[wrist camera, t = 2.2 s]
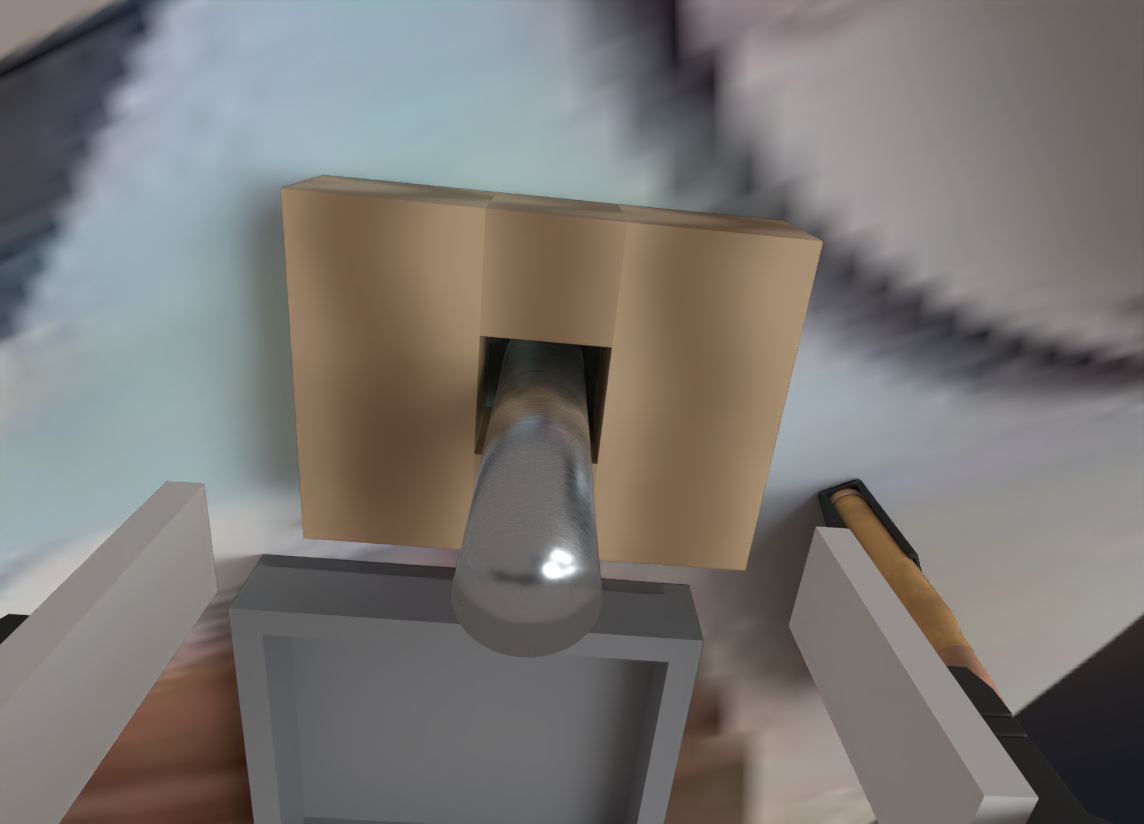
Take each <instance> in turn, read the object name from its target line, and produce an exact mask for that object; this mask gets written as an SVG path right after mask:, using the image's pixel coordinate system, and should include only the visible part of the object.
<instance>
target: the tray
mask: <svg viewBox="0 0 1144 824" xmlns="http://www.w3.org/2000/svg"><path fill="white" fill-rule="evenodd" d="M455 571H456V568H444V567H430V566H416V565H402V564H389V563H375V562H361V561H347V560H333V559H319V558H306V557H292V556H278V555H263V556H262V558H261V559H260V561H259V562H258V564H257V565H256V567H255V568H254V570H253V571H252V573H251V574H250V576H249V577H248V579H247V580H246V582H245V583H244V585H243V586H242V588H241V589H240V591H239V592H238V594H237V596H236V597H235V599H234V600H233V602H232V603H231V605H230V606H229V608H228V611H229V620H230V628H231V636H232V644H233V653H234V661H235V669H236V677H237V686H238V694H239V702H240V711H241V719H242V727H243V735H244V744H245V752H246V760H247V768H248V777H249V785H250V793H251V802H252V810H253V818H254V824H664V820H665V815H666V811H667V806H668V802H669V797H670V792H671V788H672V783H673V779H674V774H675V769H676V765H677V760H678V756H679V751H680V747H681V742H682V737H683V733H684V728H685V724H686V719H687V714H688V710H689V705H690V701H691V696H692V692H693V687H694V682H695V678H696V673H697V669H698V664H699V660H700V655H701V650H702V646H703V641H704V640H703V637H702V633H701V629H700V625H699V621H698V617H697V614H696V610H695V606H694V602H693V598H692V595H691V591H690V587H689V585H679V584H665V583H651V582H637V581H623V580H609V579H601V587H602V606H601V610H600V614H599V616H598V619H597V621H596V622H595V624H594V626H593V627H592V629H591V630H590V631H589V632H588V633H587V634H586V635H585V636H584V637H583V638H582V639H581V640H580V641H578V642H577V643H576V644H574V645H573V646H571V647H569V648H567V649H565V650H563V651H560V652H558V653H555V654H551V655H547V656H542V657H514V656H509V655H504V654H501V653H498V652H495V651H493V650H491V649H488V648H486V647H485V646H483V645H481V644H480V643H478V642H477V641H475V640H474V639H473V638H472V637H471V636H470V635H469V634H468V633H467V632H466V631H465V630H464V629H463V628H462V626H461V625H460V623H459V622H458V620H457V618H456V616H455V613H454V610H453V606H452V601H451V591H452V584H453V580H454V575H455Z"/></svg>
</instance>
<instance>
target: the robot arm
mask: <svg viewBox="0 0 1144 824" xmlns="http://www.w3.org/2000/svg"><path fill="white" fill-rule="evenodd" d="M217 592H218V590H217V582H216V574H215V566H214V557H213V549H212V541H211V533H210V525H209V517H208V509H207V501H206V493H205V485H204V484H198V483H184V482H169V481H166V482H165V483H164V484H163V485H162V486H161V487H160V488H159V489H158V490H157V491H156V492H155V493H154V494H153V495H152V496H151V497H150V498H149V499H148V500H147V501H146V502H145V503H144V504H143V505H142V506H141V507H140V508H139V509H138V510H137V511H136V512H135V513H134V514H133V515H132V516H131V517H130V518H129V519H128V520H127V521H126V522H125V523H124V524H123V525H122V526H121V527H120V528H119V529H118V530H117V531H116V532H114V533H113V534H112V535H111V536H110V537H109V538H108V539H107V540H106V541H105V542H104V543H103V544H102V545H101V546H100V547H99V548H98V549H97V550H96V551H95V552H94V553H93V554H92V555H91V556H90V557H89V558H88V559H87V560H86V561H85V562H84V563H83V564H82V565H81V566H80V567H79V568H78V569H77V570H76V571H75V572H74V573H73V574H72V575H71V576H70V577H69V578H68V579H67V580H66V581H65V582H64V583H63V584H62V585H61V586H60V587H58V588H57V589H56V590H55V591H54V592H53V593H52V594H51V595H50V596H49V597H48V598H47V599H46V600H45V601H44V602H43V603H42V604H41V605H40V606H39V607H38V608H37V609H36V610H35V611H34V612H33V613H32V614H31V615H16V614H8V615H6V616H4V617H3V618H1V619H0V824H59V823H60V821H61V820H62V818H63V817H64V816H65V814H66V813H67V811H68V810H69V808H70V807H71V805H72V804H73V802H74V801H75V799H76V798H77V796H78V795H79V794H80V792H81V791H82V789H83V788H84V786H85V785H86V783H87V782H88V780H89V779H90V777H91V776H92V775H93V773H94V772H95V770H96V769H97V767H98V766H99V764H100V763H101V761H102V760H103V758H104V757H105V756H106V754H107V753H108V751H109V750H110V748H111V747H112V745H113V744H114V742H115V741H116V739H117V738H118V737H119V735H120V734H121V732H122V731H123V729H124V728H125V726H126V725H127V723H128V722H129V720H130V719H131V717H132V716H133V715H134V713H135V712H136V710H137V709H138V707H139V706H140V704H141V703H142V701H143V700H144V698H145V697H146V696H147V694H148V693H149V691H150V690H151V688H152V687H153V685H154V684H155V682H156V681H157V679H158V678H159V677H160V675H161V674H162V672H163V671H164V669H165V668H166V666H167V665H168V663H169V662H170V660H171V659H172V658H173V656H174V655H175V653H176V652H177V650H178V649H179V647H180V646H181V644H182V643H183V641H184V640H185V638H186V637H187V636H188V634H189V633H190V631H191V630H192V628H193V627H194V625H195V624H196V622H197V621H198V619H199V618H200V617H201V615H202V614H203V612H204V611H205V609H206V608H207V606H208V605H209V603H210V602H211V600H212V599H213V598H214V596H215V595H216V593H217ZM789 627H790V630H791V632H792V634H793V636H794V638H795V641H796V643H797V645H798V647H799V649H800V652H801V654H802V656H803V658H804V660H805V663H806V665H807V667H808V669H809V671H810V674H811V676H812V678H813V680H814V682H815V685H816V687H817V689H818V691H819V693H820V696H821V698H822V700H823V702H824V704H825V707H826V709H827V711H828V713H829V715H830V717H831V720H832V722H833V724H834V726H835V728H836V731H837V733H838V735H839V737H840V739H841V742H842V744H843V746H844V748H845V750H846V753H847V755H848V757H849V759H850V761H851V764H852V766H853V768H854V770H855V772H856V775H857V777H858V779H859V781H860V783H861V786H862V788H863V790H864V792H865V794H866V796H867V799H868V801H869V803H870V805H871V807H872V810H873V812H874V814H875V816H876V818H877V821H878V823H879V824H1113V823H1110V822H1108V821H1106V820H1104V819H1101V818H1098V817H1096V816H1094V815H1088V814H1087V812H1086V811H1085V810H1084V809H1083V807H1082V806H1081V804H1080V803H1079V802H1078V800H1077V799H1076V798H1075V796H1074V795H1073V794H1072V792H1071V791H1070V790H1069V789H1068V787H1067V786H1066V785H1065V783H1064V782H1063V781H1062V779H1061V778H1060V777H1059V775H1058V774H1057V773H1056V771H1055V770H1054V769H1053V767H1052V766H1051V765H1050V763H1049V762H1048V761H1047V759H1046V758H1045V757H1044V755H1043V754H1042V753H1041V752H1040V750H1039V749H1038V747H1037V746H1036V745H1035V744H1034V742H1033V741H1032V740H1031V739H1028V738H1027V733H1026V732H1025V730H1024V729H1023V728H1022V726H1021V725H1020V724H1019V723H1018V721H1017V720H1016V718H1012V713H1011V712H1010V710H1009V709H1008V708H1007V706H1006V705H1005V704H1004V702H1003V701H1002V700H1001V699H1000V697H999V696H998V695H997V693H996V692H995V691H994V689H993V688H991V687H990V686H989V685H988V684H987V683H985V682H984V681H983V680H982V679H980V678H979V677H978V676H977V675H976V674H974V673H973V672H972V671H971V670H969V669H968V668H967V667H956V666H946V665H945V664H944V662H943V661H942V660H941V658H940V657H939V655H938V654H937V653H936V651H935V650H934V648H933V647H932V645H931V644H930V643H929V641H928V640H927V638H926V637H925V635H924V634H923V633H922V631H921V630H920V628H919V627H918V625H917V624H916V623H915V621H914V620H913V618H912V617H911V616H910V614H909V613H908V611H907V610H906V608H905V607H904V606H903V604H902V603H901V601H900V600H899V598H898V597H897V596H896V594H895V593H894V591H893V590H892V588H891V587H890V586H889V584H888V583H887V581H886V580H885V579H884V577H883V576H882V574H881V573H880V571H879V570H878V569H877V567H876V566H875V564H874V563H873V561H872V560H871V559H870V557H869V556H868V554H867V553H866V551H865V550H864V549H863V547H862V546H861V544H860V543H859V542H858V540H857V539H856V537H855V536H854V534H853V533H852V532H851V530H850V529H845V528H831V527H817V526H816V528H815V531H814V535H813V539H812V542H811V546H810V550H809V553H808V557H807V561H806V564H805V568H804V572H803V575H802V579H801V583H800V586H799V590H798V594H797V597H796V601H795V605H794V608H793V612H792V616H791V619H790V623H789Z"/></svg>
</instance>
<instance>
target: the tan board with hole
mask: <svg viewBox="0 0 1144 824" xmlns="http://www.w3.org/2000/svg"><path fill="white" fill-rule="evenodd" d="M281 201H282V216H283V232H284V247H285V263H286V278H287V293H288V309H289V324H290V340H291V355H292V370H293V386H294V401H295V417H296V432H297V448H298V463H299V478H300V494H301V509H302V525H303V538H308V539H321V540H335V541H349V542H362V543H376V544H389V545H403V546H416V547H430V548H443V549H457V550H460V549H461V544H462V540H463V536H464V531H465V527H466V522H467V518H468V514H469V509H470V505H471V500H472V496H473V492H474V487H475V483H476V478H477V474H478V470H479V465H480V461H481V456H482V452H483V448H484V443H485V439H486V434H487V430H488V426H489V421H490V417H491V412H492V408H487V407H486V394H487V375H488V356H489V337H500V338H511V339H523V340H534V341H545V342H556V343H568V344H579V345H590V346H601V352H600V361H599V369H598V377H597V386H596V394H595V403H594V411H593V416H588V424H589V437H590V449H591V462H592V474H593V487H594V499H595V512H596V524H597V537H598V549H599V560H606V561H620V562H633V563H647V564H660V565H674V566H688V567H701V568H715V569H728V570H742V571H745V570H746V565H747V561H748V557H749V553H750V548H751V544H752V540H753V536H754V532H755V527H756V523H757V519H758V515H759V510H760V506H761V502H762V498H763V493H764V489H765V485H766V481H767V477H768V472H769V468H770V464H771V460H772V455H773V451H774V447H775V443H776V439H777V434H778V430H779V426H780V422H781V417H782V413H783V409H784V405H785V400H786V396H787V392H788V388H789V384H790V379H791V375H792V371H793V367H794V362H795V358H796V354H797V350H798V345H799V341H800V337H801V333H802V329H803V324H804V320H805V316H806V312H807V307H808V303H809V299H810V295H811V290H812V286H813V282H814V278H815V274H816V269H817V265H818V261H819V257H820V252H821V248H822V244H823V241H821V240H819V239H818V238H816V237H814V236H812V235H810V234H808V233H806V232H805V231H803V230H801V229H799V228H797V227H795V226H794V225H792V224H790V223H788V222H786V221H782V220H772V219H762V218H752V217H742V216H732V215H722V214H712V213H702V212H691V211H681V210H671V209H661V208H651V207H641V206H631V205H621V204H611V203H601V202H591V201H581V200H570V199H560V198H550V197H540V196H530V195H520V194H510V193H500V192H490V191H480V190H470V189H460V188H450V187H439V186H429V185H419V184H409V183H399V182H389V181H379V180H369V179H359V178H349V177H339V176H329V175H322V176H319V177H315V178H312V179H309V180H306V181H303V182H299V183H296V184H293V185H290V186H286V187H283V188H281Z"/></svg>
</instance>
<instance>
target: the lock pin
mask: <svg viewBox="0 0 1144 824" xmlns="http://www.w3.org/2000/svg"><path fill="white" fill-rule="evenodd" d="M451 601H452V606H453V610H454V613H455V616H456V618H457V620H458V622H459V623H460V625H461V626H462V628H463V629H464V630H465V631H466V632H467V633H468V634H469V635H470V636H471V637H472V638H473V639H474V640H475V641H477V642H478V643H480V644H481V645H483V646H485V647H486V648H488V649H491V650H493V651H495V652H498V653H501V654H504V655H509V656H514V657H542V656H547V655H551V654H555V653H558V652H560V651H563V650H565V649H567V648H569V647H571V646H573V645H574V644H576V643H577V642H578V641H580V640H581V639H582V638H583V637H584V636H585V635H586V634H587V633H588V632H589V631H590V630H591V629H592V627H593V626H594V624H595V622H596V621H597V619H598V616H599V614H600V610H601V606H602V587H601V574H600V562H599V549H598V537H597V524H596V512H595V499H594V487H593V474H592V462H591V449H590V437H589V424H588V412H587V399H586V387H585V374H584V362H583V353H582V350H581V347H580V345H579V344H568V343H556V342H545V341H534V340H523V339H511V340H510V342H509V343H508V346H507V348H506V351H505V355H504V360H503V364H502V368H501V373H500V377H499V382H498V386H497V390H496V395H495V399H494V404H493V408H492V412H491V417H490V421H489V426H488V430H487V434H486V439H485V443H484V448H483V452H482V456H481V461H480V465H479V470H478V474H477V478H476V483H475V487H474V492H473V496H472V500H471V505H470V509H469V514H468V518H467V522H466V527H465V531H464V536H463V540H462V544H461V549H460V553H459V558H458V562H457V566H456V571H455V575H454V580H453V584H452V591H451Z"/></svg>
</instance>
